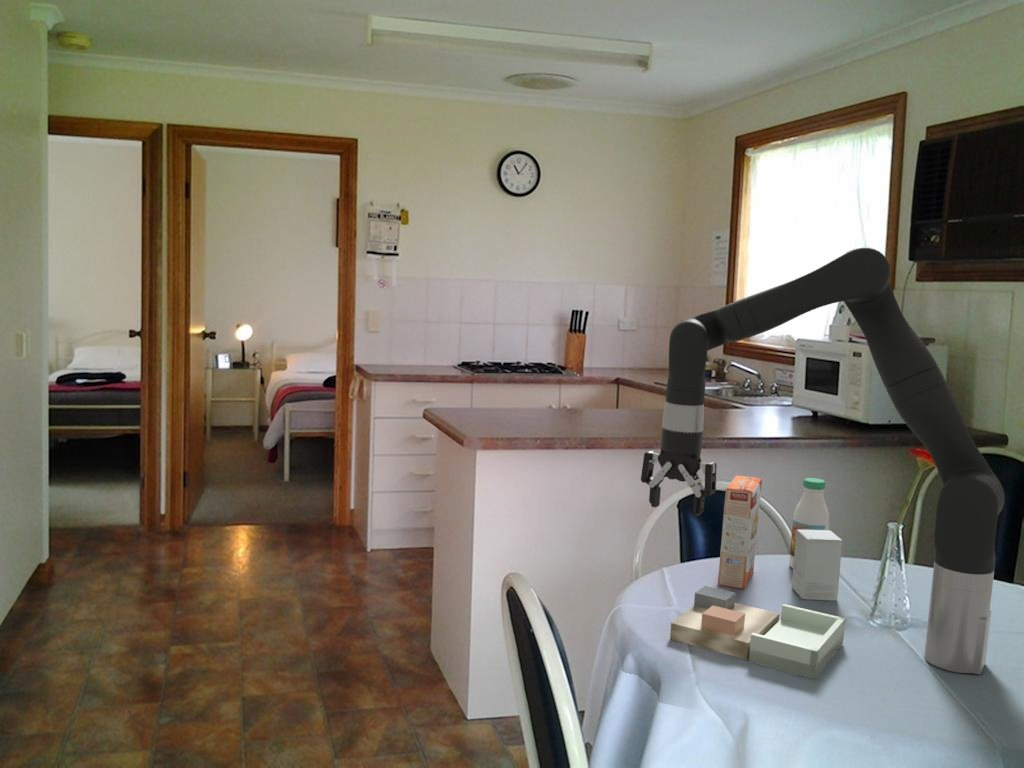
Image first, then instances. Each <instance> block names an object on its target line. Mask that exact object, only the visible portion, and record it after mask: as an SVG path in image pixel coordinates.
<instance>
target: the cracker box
mask: <svg viewBox="0 0 1024 768" xmlns="http://www.w3.org/2000/svg"><path fill="white" fill-rule="evenodd" d="M762 482H763V479H762V478H760V477H756V476H755V477H754V476H747V475H738V474H737V475H735V476H734V478H733V479H732V480H731V482H730V483H729V484H728V485H727V487H726V488H725V495H724V506H723V518H722V529H721V530H722V532H721V539H720V540H721V541H720V542H721V543H720V554H719V555H720V556H719V562H718V563H719V567H718V575H717V585H718V586H724V587H729V588H734V589H739V590H745V588H746V586H747V584H748V582H749V580H750V578H751V576H752V574H753V572H754V570H755V569H754V568H755V557H756V548H757V547H756V546H757V536H758V526H759V525H758V524H759V515H760V505H761V504H760V503H761V494H762Z"/></svg>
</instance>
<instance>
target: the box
mask: <svg viewBox="0 0 1024 768" xmlns="http://www.w3.org/2000/svg"><path fill="white" fill-rule="evenodd" d="M845 625H846V618H845V617H841V616H837V615H832V614H828V613H825V612H820V611H816V610H812V609H807V608H804V607H803V608H802V607H799V606H794V605H789V604H785V603H783V604H782V605H781V615H780V619H779V622H778V623H776V624H775V625H774V626H773V627H772V628H771V629H770V630H769V631H768V632H767V633H766V634H765V635H760V634H756V633H752V634H751V640H750V653H749V658H748V663H752V664H756V665H760V666H763V667H767V668H771V669H774V670H778V671H782V672H784V673H785V672H786V673H790V674H793V675H797V676H801V677H804V678H807V679H812V680H814V681H815V680H816V679H817V677H818V676H819V675H820V674H821V672H822V671H823V670H824V669H825V667H826V666H827V664H829V663H830V661H831V660H832V659H831V658H833V657H834V656H835V655H836V654H837V652H838V651H839V650H840V649H841V648H842V646H843V645H844V637H845V628H846V627H845ZM842 644H843V645H842ZM841 645H842V646H841ZM839 648H840V649H839ZM838 649H839V650H838ZM837 650H838V651H837ZM835 653H836V654H835ZM834 654H835V655H834ZM833 655H834V656H833ZM830 659H831V660H830Z"/></svg>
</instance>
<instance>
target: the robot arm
mask: <svg viewBox="0 0 1024 768" xmlns="http://www.w3.org/2000/svg"><path fill="white" fill-rule="evenodd" d="M890 265H891V264H890V262H889V260H888V259H887V257H886V255H884V254H883V253H882V252H880V251H879V250H877V249H875V248H873V247H868V246H867V247H866V246H860V247H855V248H852V249H850V250H848V251H846V253H843V254H842V255H840V256H838V257H836V258H835V259H833V260H831V261H830V262H828V263H827V264H825V265H823V266H821V267H819V268H817V269H815V270H813V271H811V272H808V273H806V274H804V275H803V276H800V277H798V278H795V279H793V280H790V281H788V282H785V283H783V284H780V285H777V286H774V287H772V288H769V289H766V290H763V291H760V292H758V293H754V294H751V295H749V296H746V297H744V298H741V299H738V300H736V301H733V302H731V303H728V304H725V305H724V306H722V307H720V308H718V309H714V310H711V311H709V312H705V313H701V314H698V315H695V316H692V317H690V318H686V319H684V320H682V321H680V322H678V323H677V324H676V325H675V326H674V327H673V329H672V330H671V332H670V335H669V343H668V344H669V345H668V377H667V383H666V384H667V385H666V390H665V391H666V394H665V404H664V408H663V413H662V414H663V415H662V419H661V423H662V424H661V435H660V436H661V437H660V438H661V439H660V452H659V453H657V452H656V450H655V451H654V450H649V451H647V452H645V453H643V458H642V459H643V462H642V467H641V475H640V481H641V482H642V483H643V484H644V483H645V484H646V485H648V486H649V496H648V502H649V504H650V506H651V508H657V507H659V506H660V504H661V503H660V501H661V491H662V487H661V486H660V485H661V484H662V482H664V480H666V479H668V480H676V481H679V482H681V483H683V482H686V484H687V485H688V487H689V488H691V490H692V492H693V494H694V495H695V496H693V504H692V517H697V518H698V517H699V516H701V514H703V513H704V511H705V499H706V497H709V496H712V495H713V494H716V491H717V462H715V461H712V462H703V461H702V459H701V454H702V446H703V444H702V443H703V432H704V422H705V409H704V407H705V395H706V377H705V372H706V366H707V358H708V351H711V350H713V349H715V348H718V347H720V346H723V345H725V344H729V343H737V342H741V341H743V340H746V339H749V338H752V337H754V336H757V335H761V334H763V333H765V332H769V331H771V330H772V329H775V328H777V327H780V326H781V325H783V324H786V323H788V322H790V321H791V320H794V319H796V318H797V317H801V316H802V315H804V314H806V313H808V312H809V313H810V312H812V311H814V310H816V309H818V308H822V307H824V306H828V305H832V304H837V303H840V302H843V303H844V304H845V306H846V307H847V309H848V310H849V311H850V314H851V315H852V317H853V318H854V320H855V321H856V324H857V325H858V327H859V329H860V330H861V333H862V334H863V336H864V338H865V341H866V343H867V345H868V349H869V351H870V354H871V357H872V359H873V362H874V365H875V367H876V370H877V372H878V375H879V376H880V379H881V381H882V385H883V386H884V388H885V390H886V392H887V394H888V396H889V398H890V400H891V403H892V404H893V406H894V407H895V410H896V411H897V413H898V415H899V417H900V418H901V419H902V421H903V422H904V423H905V425H907V427H908V429H910V431H911V432H912V433H913V434H914V435H915V436H916V437H917V439H918V440H919V441H920V442H921V444H922V445H923V446H924V447H925V449H926V450H927V451H928V453H929V455H930V456H931V458H932V461H933V463H934V465H935V467H936V469H937V471H938V474H939V477H940V479H941V482H942V487H941V488H940V490H939V493H938V496H937V502H936V511H935V524H934V533H933V534H934V535H933V547H934V561H933V562H934V564H933V571H932V580H931V581H932V582H931V591H930V600H929V608H928V618H927V630H926V639H925V644H924V659H925V660H926V661H927V662H928V664H929V663H930V664H931V665H933V666H934V667H937V668H939V669H942V670H945V671H948V672H953V673H959V674H973V675H979V676H980V675H982V673H983V669H984V668H985V664H986V660H987V659H986V658H987V650H988V641H989V633H990V626H991V615H992V611H991V605H992V604H991V603H992V593H993V584H994V578H995V577H994V575H995V568H996V560H997V557H996V553H995V550H996V549H995V544H996V537H997V536H996V534H997V528H998V527H997V525H998V518H999V517H998V516H999V515H1000V513H1001V511H1002V510H1003V508H1004V505H1005V500H1006V499H1005V498H1006V497H1005V491H1004V488H1003V486H1002V484H1001V482H1000V480H999V479H998V477H997V475H996V474H995V473H994V472H993V470H992V469H991V467H990V465H989V464H988V462H987V460H986V459H985V458H984V456H983V454H982V453H981V451H980V450H979V448H978V447H977V445H976V443H975V441H974V440H973V438H972V436H971V435H970V433H969V432H970V431H969V430H968V428H967V426H966V422H965V420H964V418H963V416H962V413H961V411H960V408H959V406H958V404H957V403H956V401H955V398H954V395H953V393H952V392H951V389H950V387H949V385H948V382H947V380H946V379H945V376H944V375H943V373H942V371H941V369H940V367H939V365H938V363H937V361H936V360H935V358H934V357H933V355H932V354H931V352H930V351H929V349H928V347H927V346H926V345H925V343H924V342H923V340H922V339H921V338H920V336H918V334H917V333H916V332H915V331H914V329H913V328H912V327H911V326H910V324H909V323H908V321H907V320H906V317H905V316H904V314H903V312H902V310H901V308H900V305H899V304H898V303H899V302H898V301H897V298H896V296H895V294H894V291H893V289H892V286H891V283H890V278H891V267H890ZM657 461H658V464H659V466H660V469H659V470H658V472H656V474H655V475H653V474H654V468H655V467H654V466H655V464H656V463H657ZM700 469H701V470H702V473H703V475H704V485H703V482H702V481H703V480H702V478H701V477H700V475H699V473H698V471H700Z"/></svg>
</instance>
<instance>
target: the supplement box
mask: <svg viewBox="0 0 1024 768" xmlns="http://www.w3.org/2000/svg"><path fill="white" fill-rule="evenodd" d="M842 549H843V539H842V538H840V537H839V536H838V535H837V534H835V533H834V532H833V531H832V530H830V529H829V530H799V529H797V532H796V542H795V555H794V567H793V568H792V580H791V588H792V590H794V591H795V593H796V594H797V595H798V596H799V597H800V599H802V600H811V601H813V600H815V601H831V602H833V601H837V600H838V598H839V597H838V595H839V586H840V585H839V584H840V573H841V572H840V571H841V561H842V560H841V559H842Z"/></svg>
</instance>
